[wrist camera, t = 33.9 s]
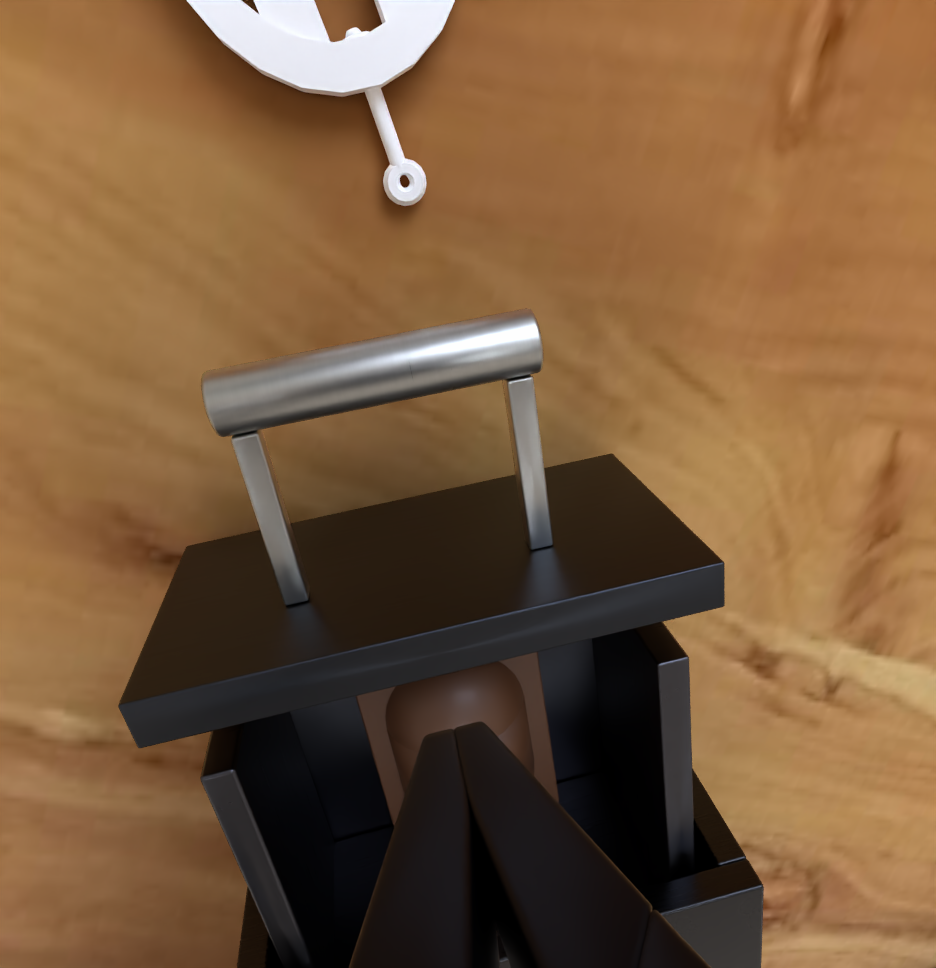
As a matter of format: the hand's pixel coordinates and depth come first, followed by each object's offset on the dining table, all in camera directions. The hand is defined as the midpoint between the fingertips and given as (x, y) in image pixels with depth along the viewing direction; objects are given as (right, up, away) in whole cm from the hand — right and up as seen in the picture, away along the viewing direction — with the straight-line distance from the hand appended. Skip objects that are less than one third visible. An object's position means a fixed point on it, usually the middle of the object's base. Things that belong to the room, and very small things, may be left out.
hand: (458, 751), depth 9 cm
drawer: (-1, 0, +13) cm, 13 cm away
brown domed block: (-1, -3, +13) cm, 13 cm away
